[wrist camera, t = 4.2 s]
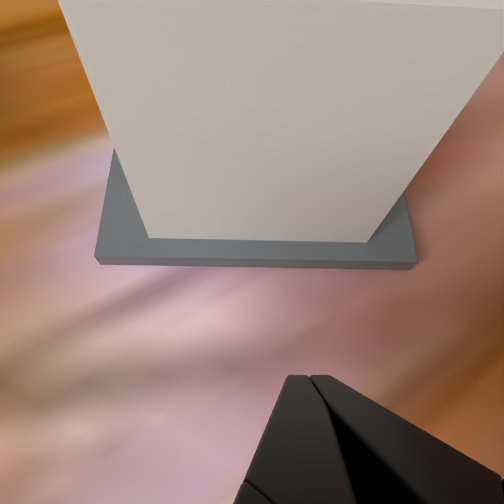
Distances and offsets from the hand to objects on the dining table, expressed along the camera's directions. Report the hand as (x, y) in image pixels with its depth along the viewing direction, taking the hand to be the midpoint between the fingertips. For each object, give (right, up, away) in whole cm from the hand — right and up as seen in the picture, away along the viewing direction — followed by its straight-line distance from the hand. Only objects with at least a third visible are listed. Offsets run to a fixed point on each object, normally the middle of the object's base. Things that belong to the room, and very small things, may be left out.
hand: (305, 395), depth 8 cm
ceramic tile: (-1, +5, +13) cm, 14 cm away
